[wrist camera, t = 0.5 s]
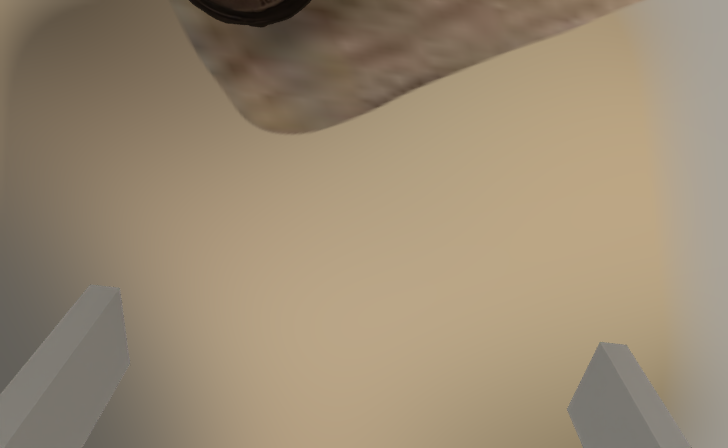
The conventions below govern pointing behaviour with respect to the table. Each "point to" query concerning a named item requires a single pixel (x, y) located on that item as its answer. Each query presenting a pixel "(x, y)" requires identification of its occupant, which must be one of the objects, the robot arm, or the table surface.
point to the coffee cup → (251, 10)
